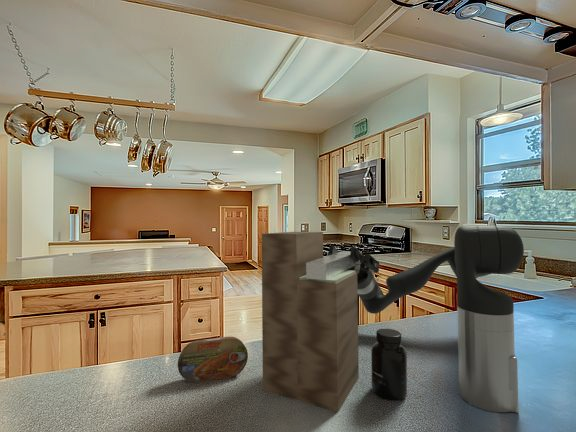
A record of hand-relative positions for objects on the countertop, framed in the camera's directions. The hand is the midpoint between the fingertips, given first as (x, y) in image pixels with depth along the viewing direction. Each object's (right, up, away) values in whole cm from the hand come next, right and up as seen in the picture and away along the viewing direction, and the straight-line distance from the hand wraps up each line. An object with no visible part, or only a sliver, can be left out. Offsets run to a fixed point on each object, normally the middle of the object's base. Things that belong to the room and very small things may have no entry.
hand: (341, 249), depth 72 cm
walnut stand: (-7, -28, -6) cm, 29 cm away
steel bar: (-2, -4, -4) cm, 6 cm away
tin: (-29, -28, -3) cm, 41 cm away
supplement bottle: (+8, -28, -10) cm, 30 cm away
